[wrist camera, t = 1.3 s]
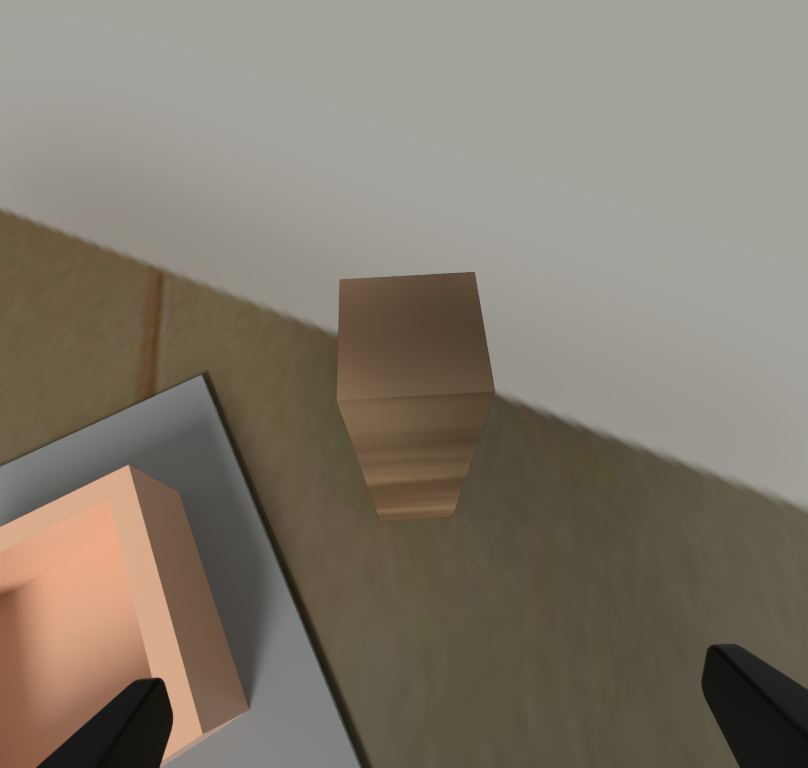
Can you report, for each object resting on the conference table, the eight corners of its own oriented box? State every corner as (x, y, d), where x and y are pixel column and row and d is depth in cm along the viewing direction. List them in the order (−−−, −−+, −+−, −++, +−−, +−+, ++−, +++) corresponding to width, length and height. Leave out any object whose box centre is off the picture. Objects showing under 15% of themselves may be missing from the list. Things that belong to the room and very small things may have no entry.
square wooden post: (452, 516, 21) (495, 390, 10) (380, 520, 21) (336, 400, 10) (445, 447, 23) (474, 272, 11) (378, 452, 23) (339, 279, 11)
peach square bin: (249, 710, 17) (202, 734, 13) (-25, 887, 15) (-173, 977, 11) (179, 492, 22) (128, 464, 18) (-43, 606, 19) (-154, 602, 16)
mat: (390, 836, 16) (389, 840, 15) (-112, 1224, 12) (-127, 1242, 12) (204, 378, 25) (201, 374, 25) (-109, 522, 22) (-118, 520, 21)
